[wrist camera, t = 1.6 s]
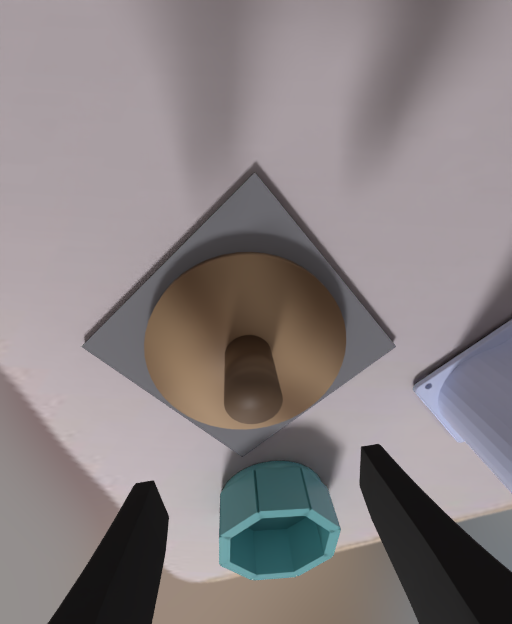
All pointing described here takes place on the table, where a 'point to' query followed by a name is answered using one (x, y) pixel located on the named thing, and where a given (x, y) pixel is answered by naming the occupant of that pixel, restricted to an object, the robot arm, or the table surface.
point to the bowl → (276, 521)
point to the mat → (224, 240)
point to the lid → (245, 341)
